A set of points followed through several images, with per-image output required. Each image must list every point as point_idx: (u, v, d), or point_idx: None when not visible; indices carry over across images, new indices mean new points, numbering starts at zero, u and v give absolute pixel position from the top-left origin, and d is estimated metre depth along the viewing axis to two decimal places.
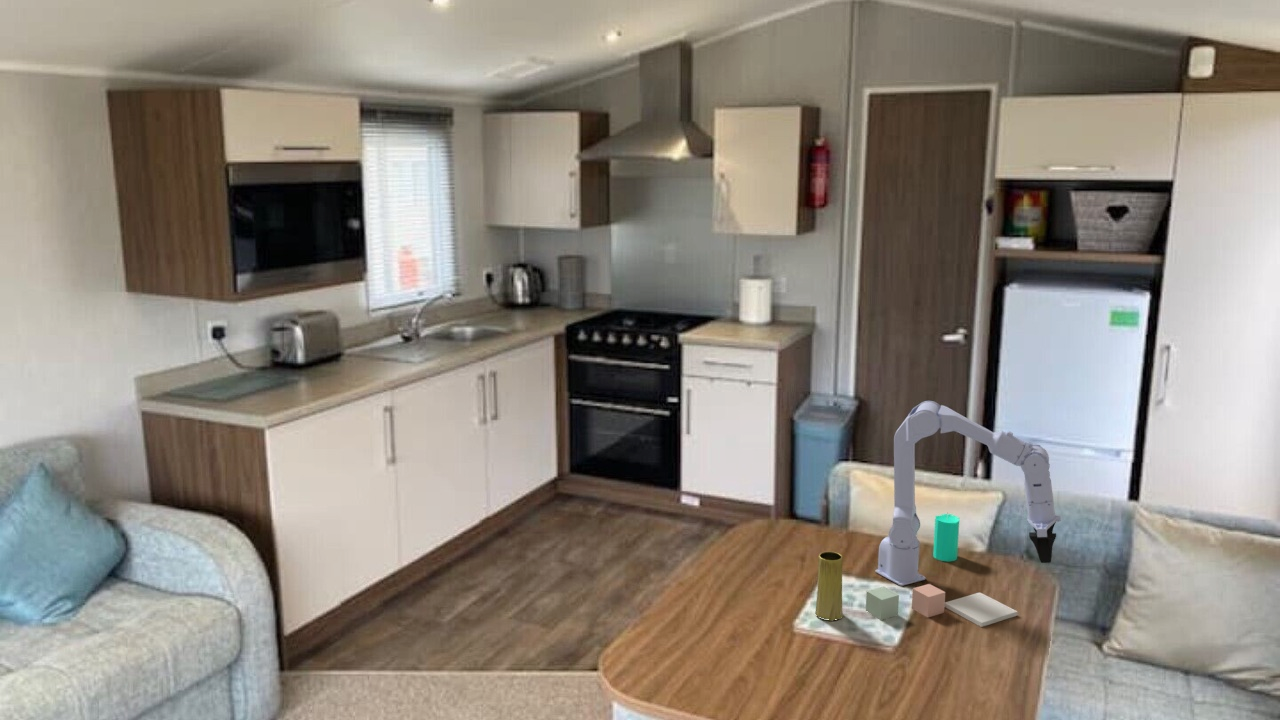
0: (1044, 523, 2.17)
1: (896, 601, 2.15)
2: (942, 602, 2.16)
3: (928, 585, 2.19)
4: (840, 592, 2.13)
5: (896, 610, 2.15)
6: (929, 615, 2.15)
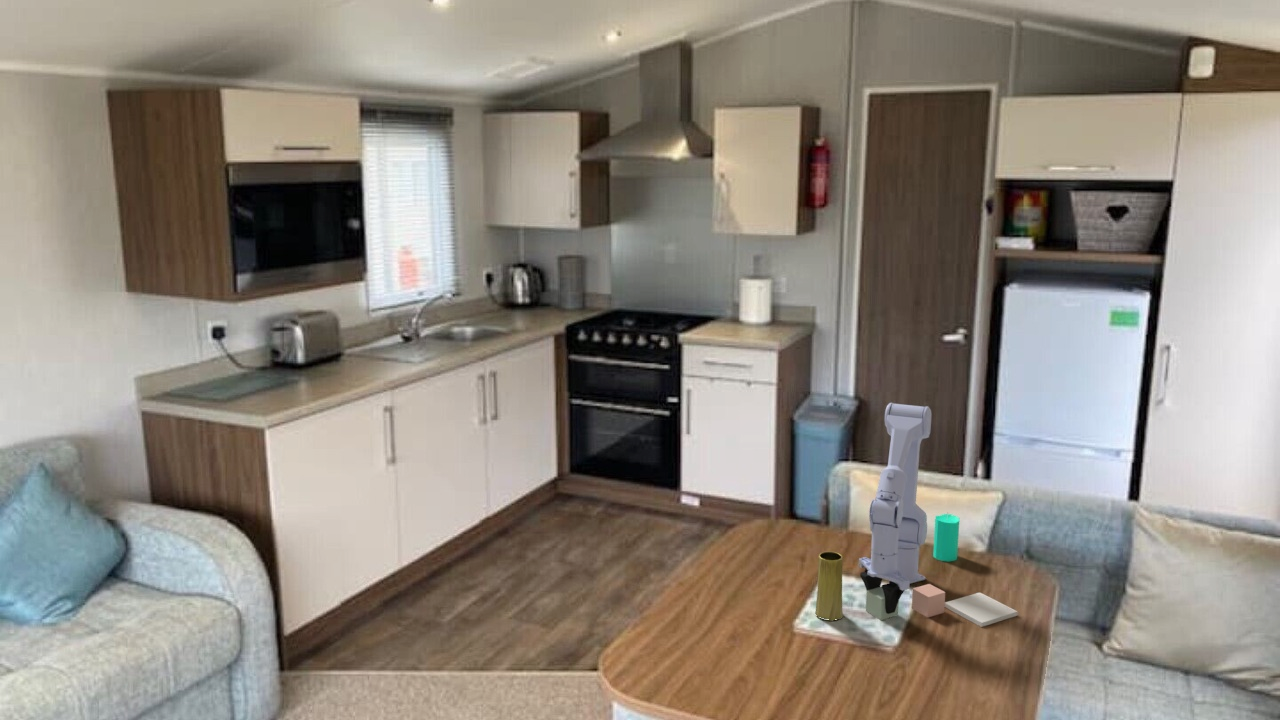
0: None
1: None
2: (942, 602, 2.16)
3: (928, 585, 2.19)
4: (840, 592, 2.13)
5: (896, 610, 2.15)
6: (929, 615, 2.15)
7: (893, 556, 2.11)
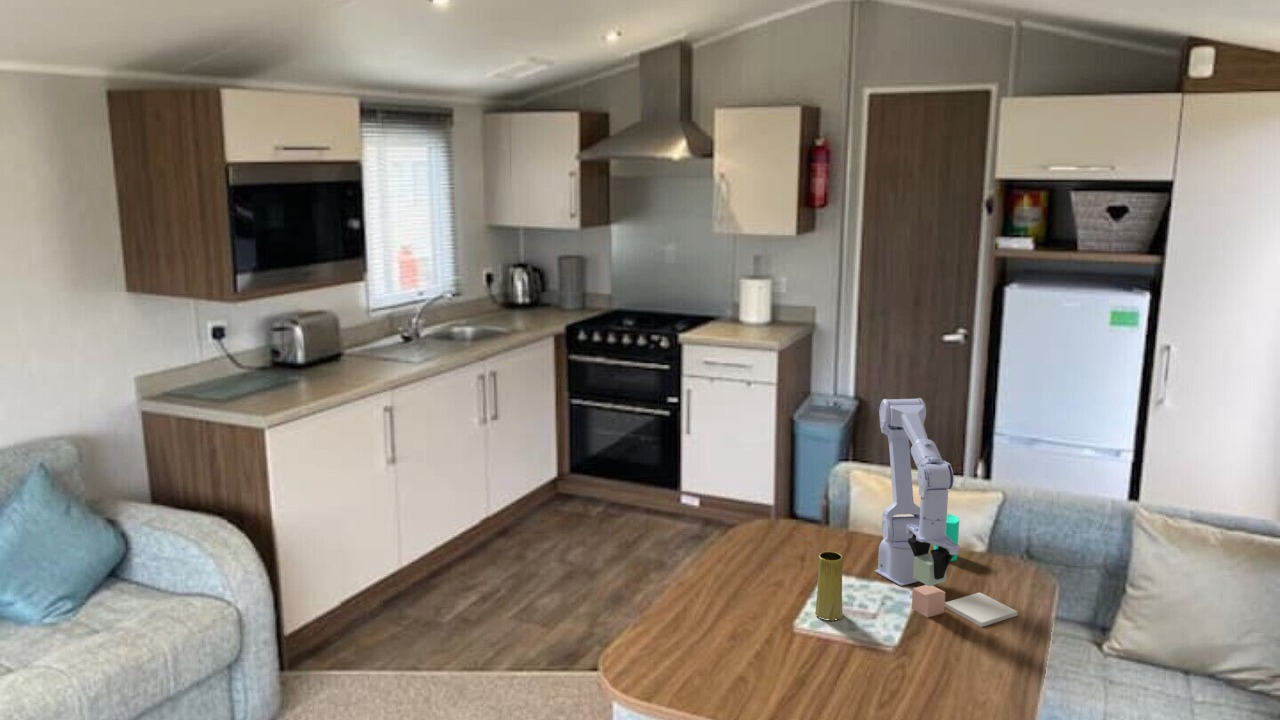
0: None
1: None
2: (942, 602, 2.16)
3: None
4: (840, 592, 2.13)
5: (944, 576, 2.14)
6: (929, 615, 2.15)
7: (942, 521, 2.10)
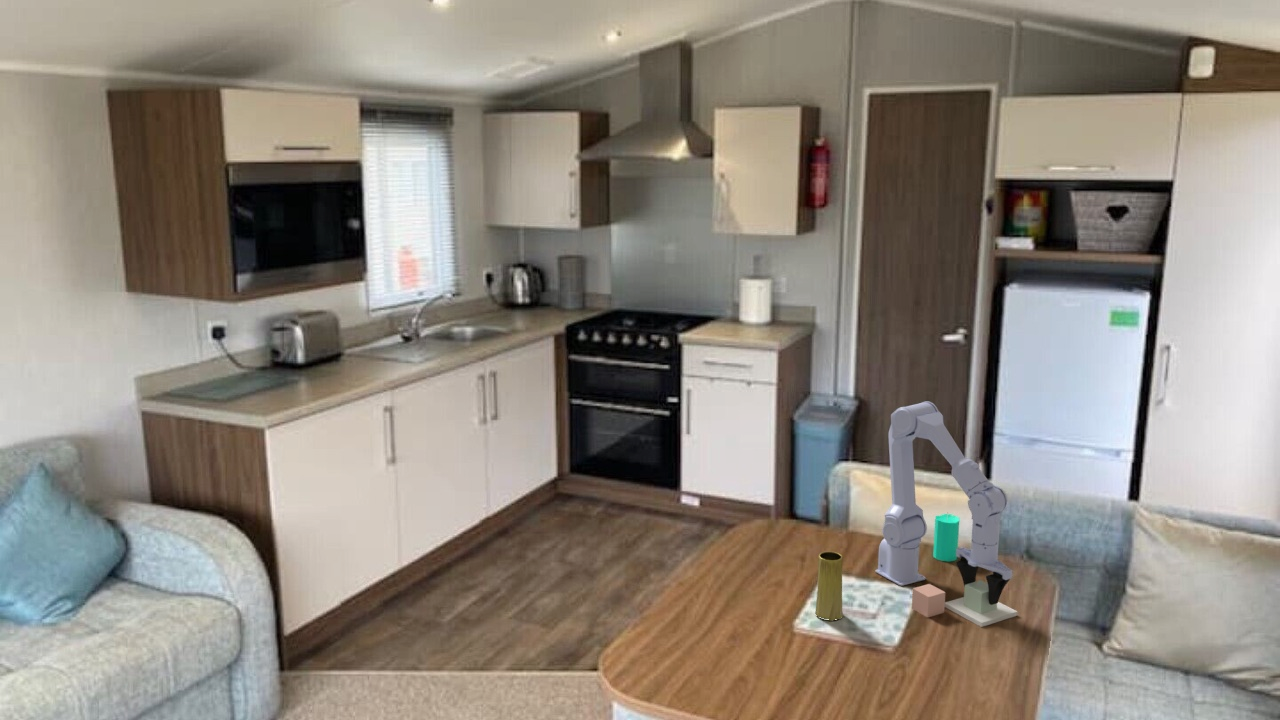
0: (971, 555, 2.17)
1: None
2: (942, 602, 2.16)
3: (928, 585, 2.19)
4: (840, 592, 2.13)
5: (995, 604, 2.15)
6: (929, 615, 2.15)
7: (995, 546, 2.11)
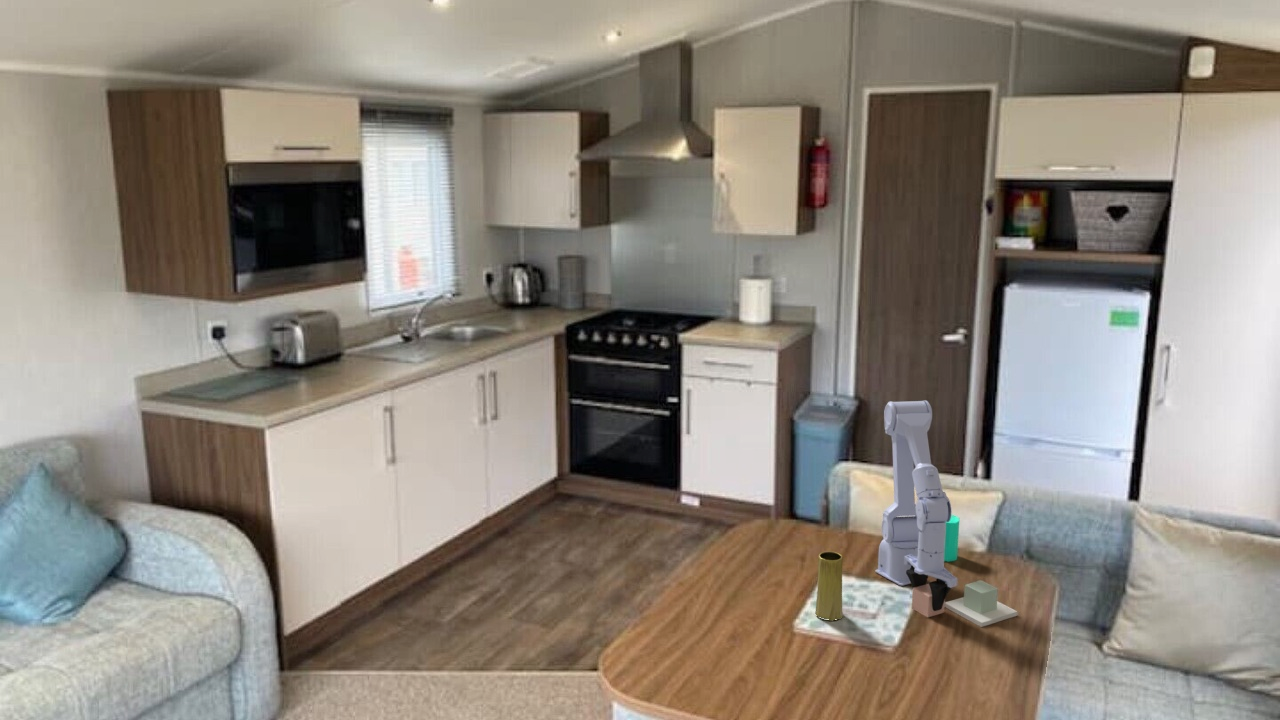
0: None
1: (995, 595, 2.15)
2: None
3: (928, 585, 2.19)
4: (840, 592, 2.13)
5: (995, 604, 2.15)
6: (929, 615, 2.15)
7: (940, 553, 2.12)
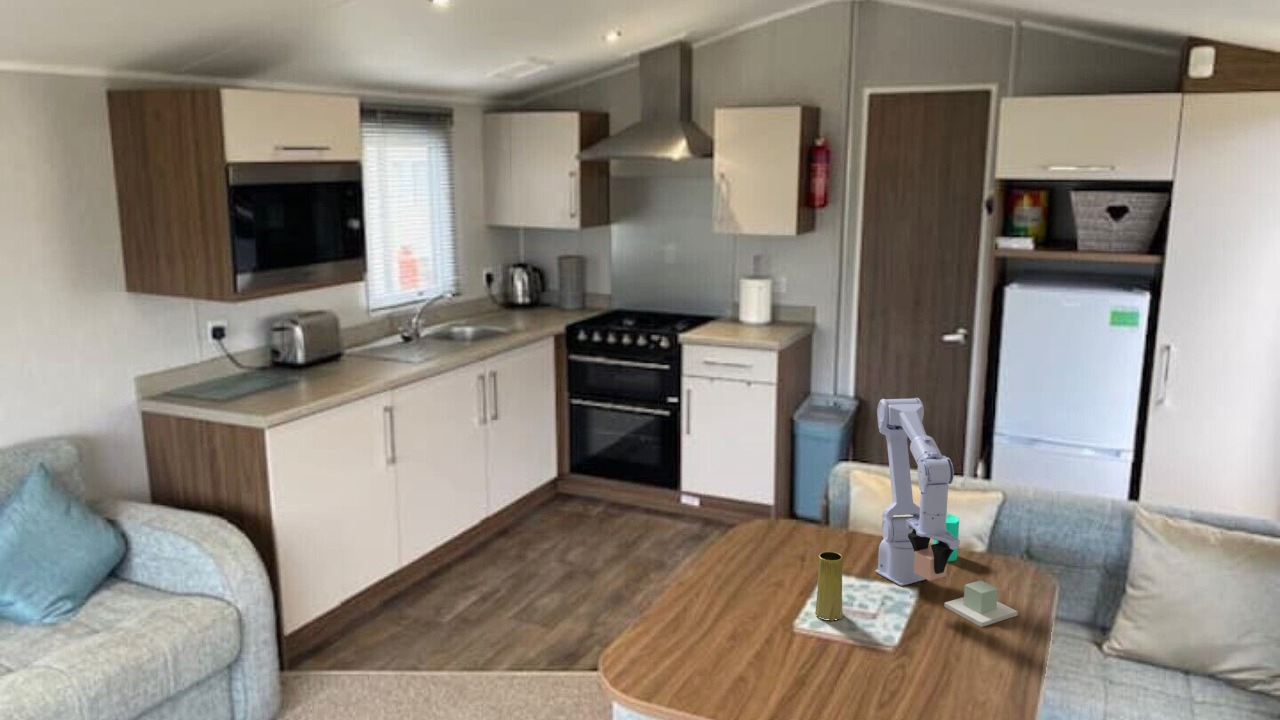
0: None
1: (995, 595, 2.15)
2: None
3: (930, 548, 2.17)
4: (840, 592, 2.13)
5: (995, 604, 2.15)
6: (931, 578, 2.13)
7: (942, 516, 2.11)
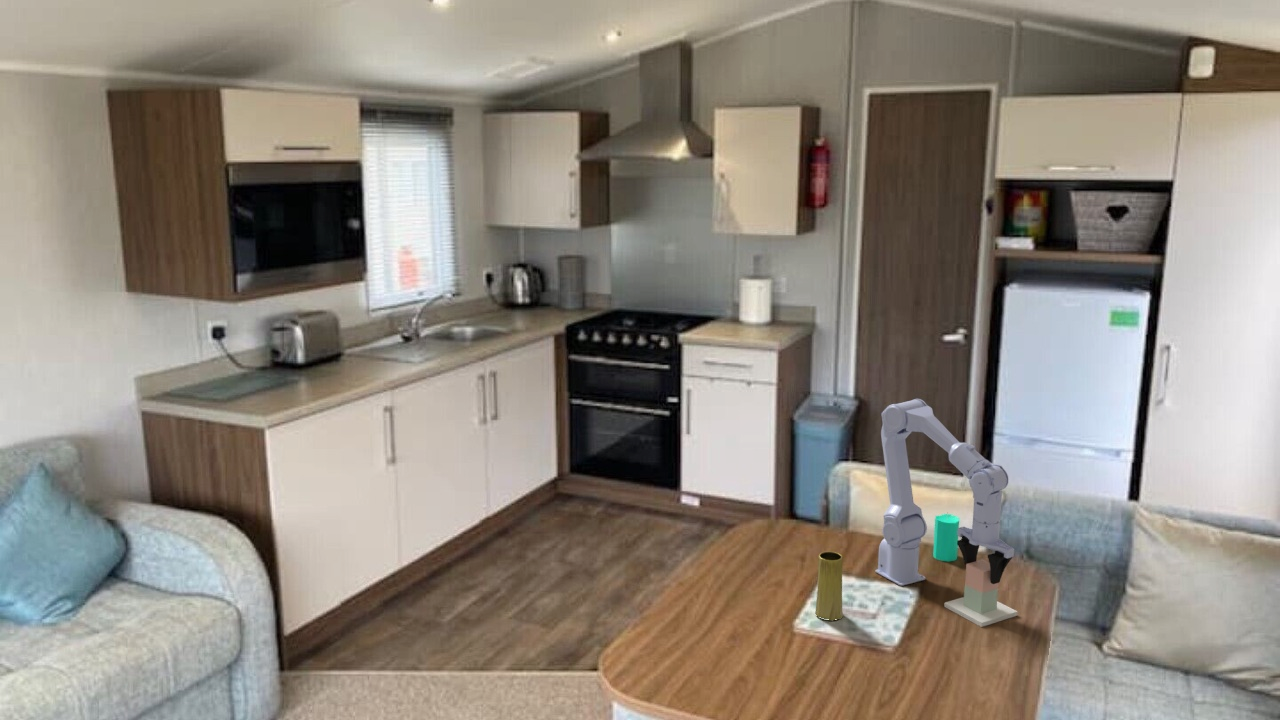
0: None
1: (995, 595, 2.15)
2: None
3: (981, 561, 2.17)
4: (840, 592, 2.13)
5: (995, 604, 2.15)
6: (984, 590, 2.13)
7: (996, 524, 2.10)
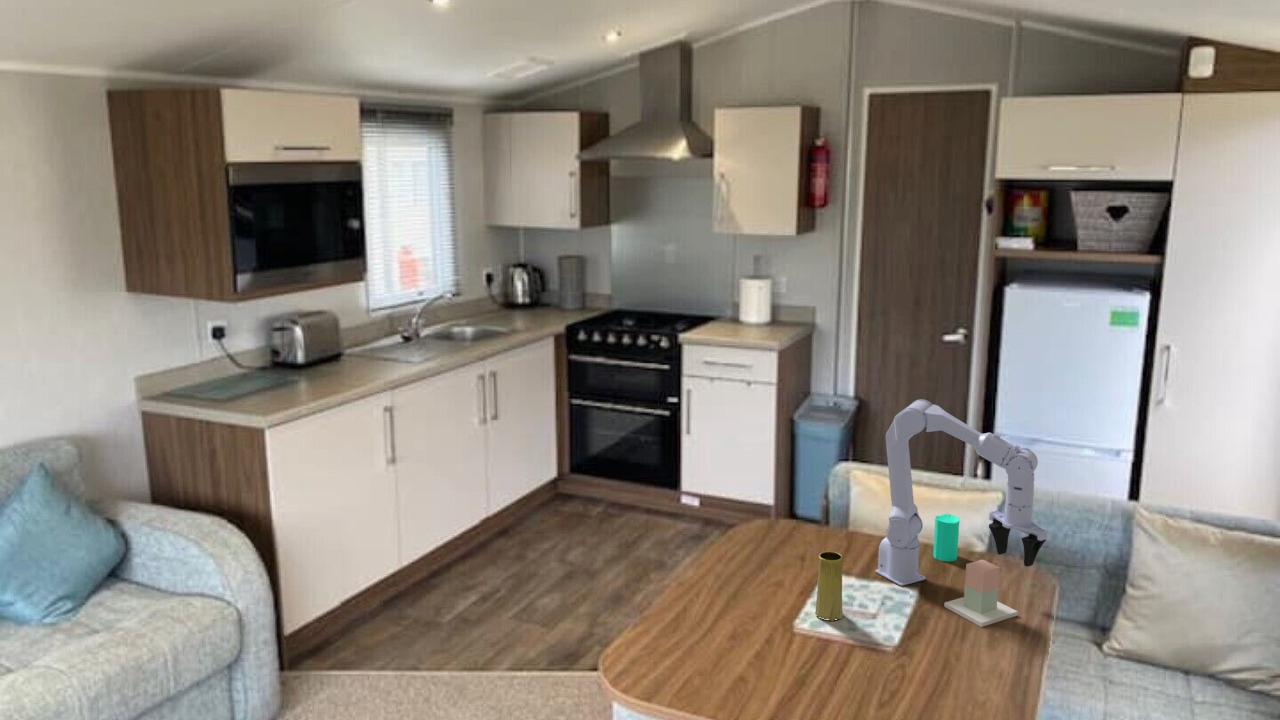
0: None
1: (995, 595, 2.15)
2: (996, 577, 2.14)
3: (981, 561, 2.17)
4: (840, 592, 2.13)
5: (995, 604, 2.15)
6: (984, 590, 2.13)
7: (1029, 507, 2.14)
